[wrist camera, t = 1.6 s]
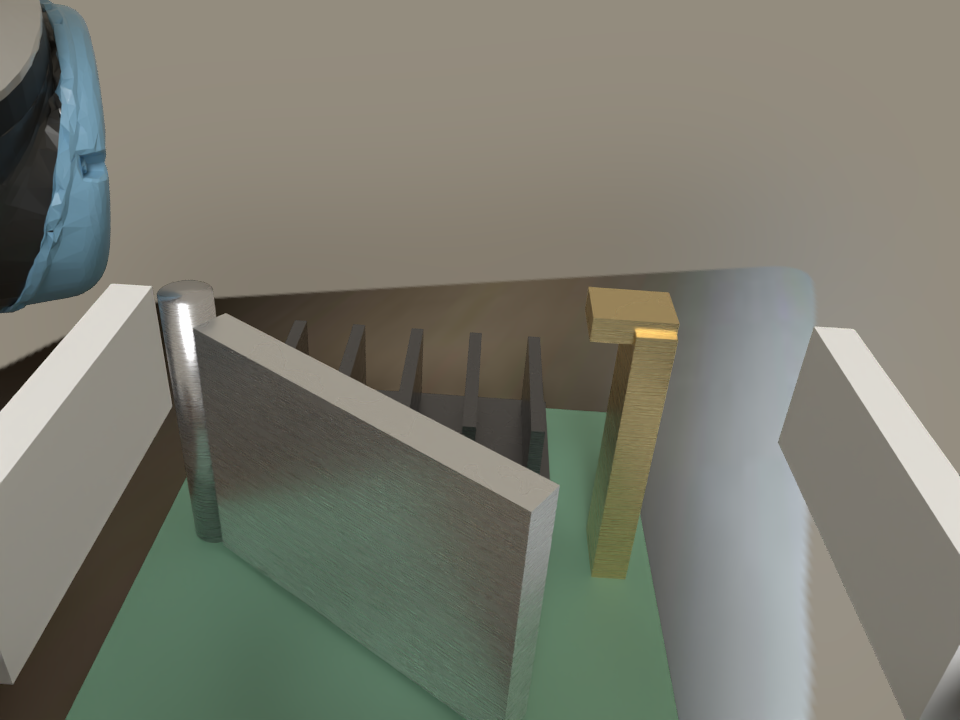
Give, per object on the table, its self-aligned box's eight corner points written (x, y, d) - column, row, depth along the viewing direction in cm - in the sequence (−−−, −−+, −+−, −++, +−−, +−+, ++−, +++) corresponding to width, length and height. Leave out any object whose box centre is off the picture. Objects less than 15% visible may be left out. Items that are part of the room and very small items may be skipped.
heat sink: (185, 549, 37) (140, 290, 30) (251, 403, 46) (228, 180, 39) (625, 579, 37) (680, 328, 30) (602, 428, 46) (640, 209, 39)
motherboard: (59, 773, 30) (50, 748, 29) (234, 408, 48) (231, 386, 47) (683, 814, 30) (691, 790, 29) (617, 434, 48) (621, 413, 47)
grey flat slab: (223, 544, 37) (192, 327, 31) (250, 526, 38) (225, 313, 32) (501, 744, 30) (531, 511, 24) (525, 715, 31) (559, 485, 25)
